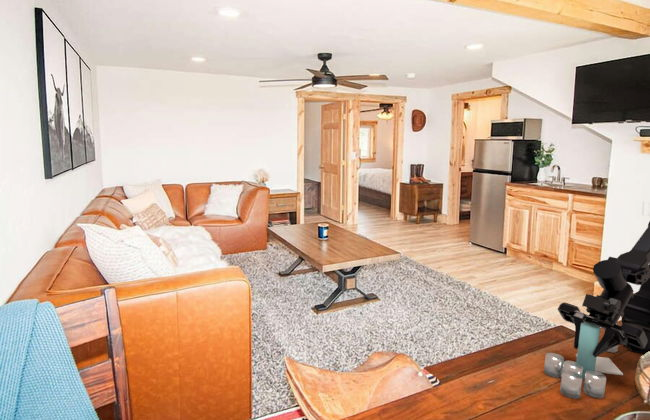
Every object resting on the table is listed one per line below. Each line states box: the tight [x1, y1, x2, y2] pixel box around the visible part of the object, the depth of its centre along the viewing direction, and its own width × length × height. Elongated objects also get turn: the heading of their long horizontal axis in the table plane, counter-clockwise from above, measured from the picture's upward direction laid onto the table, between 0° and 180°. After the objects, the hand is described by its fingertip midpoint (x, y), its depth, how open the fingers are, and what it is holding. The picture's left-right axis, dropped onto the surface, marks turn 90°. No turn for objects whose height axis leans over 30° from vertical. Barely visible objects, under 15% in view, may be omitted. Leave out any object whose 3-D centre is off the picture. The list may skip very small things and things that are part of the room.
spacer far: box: [559, 371, 584, 400], centre depth 93 cm, size 4×4×4 cm
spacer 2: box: [563, 360, 583, 376], centre depth 98 cm, size 4×4×4 cm
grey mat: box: [575, 353, 624, 376], centre depth 106 cm, size 8×8×1 cm
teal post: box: [575, 323, 601, 380], centre depth 100 cm, size 4×4×13 cm
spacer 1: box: [543, 352, 565, 379], centre depth 101 cm, size 4×4×4 cm
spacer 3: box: [582, 370, 607, 399], centre depth 93 cm, size 4×4×4 cm
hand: (584, 351), depth 99 cm, fingers open, 4 cm apart
